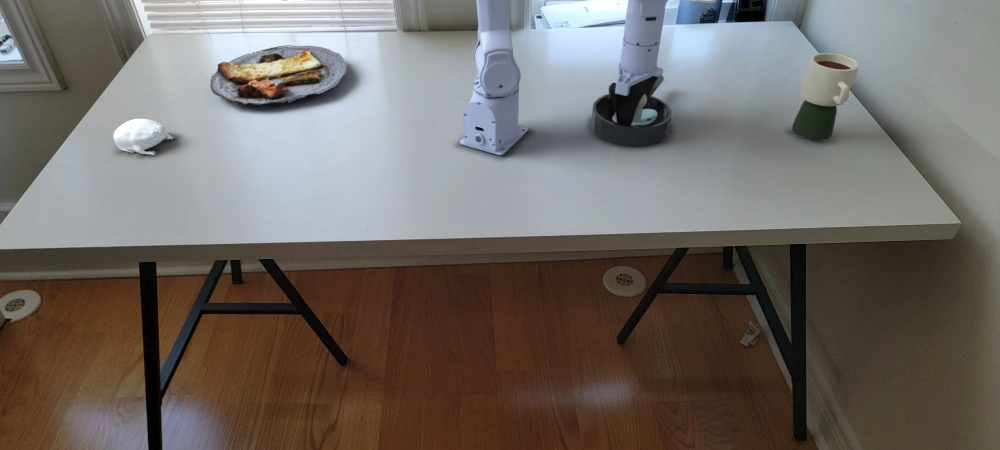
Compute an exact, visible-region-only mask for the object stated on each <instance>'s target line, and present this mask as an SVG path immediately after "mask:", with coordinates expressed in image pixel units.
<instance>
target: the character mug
mask: <svg viewBox="0 0 1000 450" xmlns="http://www.w3.org/2000/svg"><path fill="white" fill-rule="evenodd" d="M859 68H860V63H859V61H857V60H856V59H854V58H852V57H850V56H848V55H844V54H841V53H834V52H819V53H818V52H817V53H815V54H812V55H811V57H810V59H809V62H808V65H807V69H806V72H805V75H804V79H803V81H802V85H801V88H800V93H799V94H800V96H801V98H802V99H803V102H802V104H801V106H800V108H799V110H798V112H797V114H796V116H795V118H794V121H793V123H792V126H791V130H792V131H793V133H795V135H797V136H800V137H802V138H806V139H811V140H829V139H830V138H832V135H833V133H834V129H835V122H836V117H837V113H838V109H837V107H839V106H842V105H844V104H845V103H846V102H847V101H848V100H849V98H850V91H851V88H852V86H853V84H854V83H855V81H856V77H857V73H858V71H859Z"/></svg>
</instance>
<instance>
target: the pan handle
mask: <svg viewBox="0 0 1000 450" xmlns="http://www.w3.org/2000/svg"><path fill="white" fill-rule="evenodd" d="M664 80H665V79H664V76H663V74H662V75H661V76H660V77H658V79H657V81H656V82H655V84H654V86H653V88H652V91H651V93H650V95H651V96H653V95H654V94H655V92H656V91H657V89H658V88H659V87H660V86H661V84H662V83H663V82H664Z"/></svg>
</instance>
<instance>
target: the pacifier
mask: <svg viewBox="0 0 1000 450" xmlns="http://www.w3.org/2000/svg"><path fill="white" fill-rule="evenodd" d="M646 102H647V97H646V95H645V94H644V95H643V97H642V98H641V100H640V102H639V104H638V106H637V109H636V112H635V116H634V119H633V122H632V124H631V127H642V126H645V125H649V124H651V123H653V122H654V121H655V120H656V118H657V112H656V111H655V110H653V109H643V107H644V106H645V104H646ZM649 119H651V120H650V121H647V120H649ZM612 120H613V121H614V122H615V123H617V119H616V112H615V115H614V116H613V118H612Z"/></svg>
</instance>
